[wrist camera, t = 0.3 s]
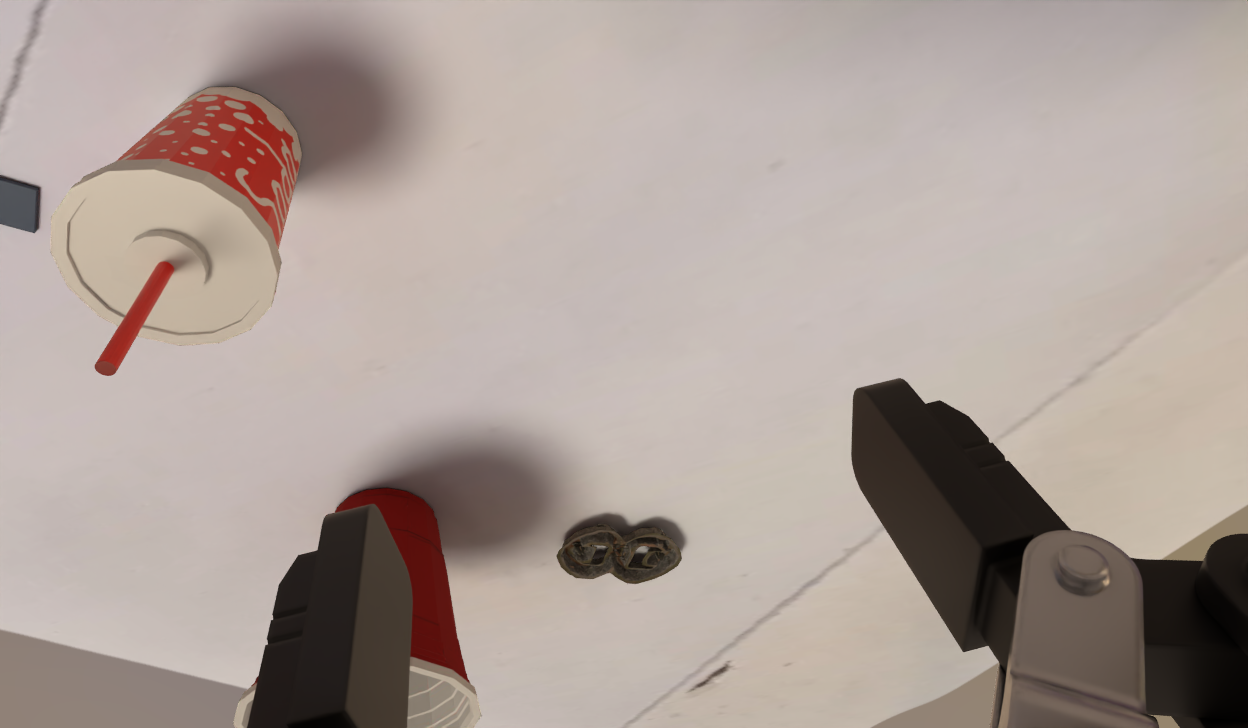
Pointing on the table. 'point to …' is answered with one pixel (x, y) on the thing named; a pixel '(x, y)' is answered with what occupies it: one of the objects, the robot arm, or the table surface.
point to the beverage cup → (183, 224)
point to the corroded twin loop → (619, 554)
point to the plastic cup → (418, 618)
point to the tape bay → (18, 205)
